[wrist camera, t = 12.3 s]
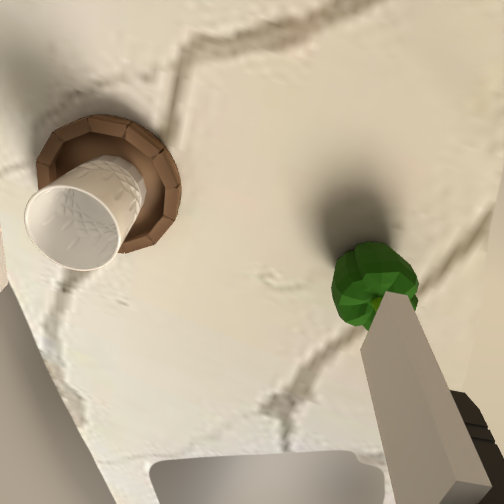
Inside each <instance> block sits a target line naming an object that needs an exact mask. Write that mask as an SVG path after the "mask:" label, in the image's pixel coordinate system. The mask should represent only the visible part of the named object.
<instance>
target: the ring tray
mask: <svg viewBox="0 0 504 504" xmlns="http://www.w3.org/2000/svg"><path fill="white" fill-rule="evenodd" d="M102 155H111V156H119V157H121V158H123V159H125V160H126V161H128V162H130V163H131V164H133V165H134V166H135V167H136V169H137V170H138V171H139V172H140V174H141V175H142V176H143V179H144V183H145V187H146V191H147V192H146V196H145V200H144V204H143V206H142V208H141V209H140V211H139V214H138V216H137V218H136V220H135V222H134V224H133V226H132V228H131V230H130V231H129V233H128V235H127V236H126V238H125V240H124V242H123V243H122V245H121V247H120V249H119V251H118V252H117V253H123V254H124V252H125V254H126V253H129V252H132V251H135V250H139V249H142V248H145V247H148V246H152V245H154V244H156V243H157V241H158V240H159V239H160V238H161V237H162V235H163V234H164V233H165V232H166V231H167V229H168V228H169V227H170V226H171V225H172V224H173V222H174V221H175V219H176V217H177V215H178V208H179V205H180V200H181V180H180V176H179V172H178V169H177V166H176V164H175V162H174V160H173V158H172V156H171V154H170V153H169V151H168V150H167V148H166V147H165V146H164V145H163V144H162V142H161V141H160V140H159V139H158V138H157V137H156V136H154V135H153V134H152V133H151V132H150V131H148V130H147V129H145V128H144V127H142V126H141V125H139V124H137V123H135V122H133V121H130V120H128V119H125V118H122V117H118V116H112V115H90V116H87V117H84V118H80V119H78V120H76V121H74V122H72V123H70V124H68V125H65V126H63V127H61V128H59V129H57V130H55V131H54V132H52V134H51V136H50V137H49V139H48V141H47V142H46V144H45V146H44V148H43V149H42V151H41V153H40V155H39V156H38V158H37V162H36V167H37V178H38V189H39V190H40V189H42V188H44V187H45V186H47V185H48V184H50V183H52V182H53V181H55V180H56V179H58V178H59V177H61V176H63V175H64V174H66V173H67V172H69V171H71V170H73V169H74V168H76V167H78V166H80V165H82V164H84V163H86V162H88V161H89V160H91V159H93V158H96V157H99V156H102Z"/></svg>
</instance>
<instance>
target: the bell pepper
mask: <svg viewBox="0 0 504 504" xmlns="http://www.w3.org/2000/svg"><path fill="white" fill-rule="evenodd" d="M418 285H419V283H418V279H417V276H416V274H415V272H414V270H413V268H412V267H411V265H410V264H409V263H408V262H406V261H405V260H404V259H403V258H402V257H401V256H400V255H398V254H397V253H396V252H395V251H394V250H392V249H391V248H390V247H389V246H387V245H386V244H384V243H378V242H365V243H361V244H357V246H356V248H355V251H348V252H346V253H345V254H344V255H343V256H341V257H340V258H339V259H338V260H337V263H336V266H335V271H334V276H333V282H332V287H331V289H332V296H333V300H334V303H335V306H336V308H337V311H338V314H339V316H340V318H341V319H342V320H344V321H345V322H346V323H349V324H351V325H354V326H359V325H363V326H364V327H365V328H366V330H368V331H369V329H370V326H371V324H372V322H373V320H374V317H375V315H376V313H377V310H378V308H379V306H380V304H381V301H382V299H383V297H384V294H385V292H386V291H388V292H393V293H398V294H403V295H408V298H409V300H410V302H411V304H412V307H413V309H414V311H415V310H416V307H417V303H418V299H417V297H416V295H415V293H416V292H417V289H418Z"/></svg>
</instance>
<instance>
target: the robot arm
mask: <svg viewBox="0 0 504 504" xmlns="http://www.w3.org/2000/svg"><path fill="white" fill-rule="evenodd" d="M7 284H8V278H7V271H6V263H5V256H4V248H3V241H2V233H1V226H0V291H1V290H2V289H3V288H4V287H5V286H6V285H7ZM360 351H361V355H362V359H363V364H364V368H365V372H366V376H367V381H368V385H369V389H370V394H371V398H372V402H373V406H374V411H375V415H376V419H377V424H378V428H379V432H380V436H381V441H382V445H383V449H384V454H385V458H386V462H387V466H388V471H389V475H390V479H391V484H392V488H393V492H394V497H395V501H396V504H504V458H503V456H502V454H501V452H500V450H499V448H498V446H497V445H496V444H495V440H494V438H493V436H492V434H491V432H490V430H488V426H487V424H486V422H485V420H484V418H483V416H482V414H481V412H480V410H479V408H478V407H477V406H476V405H475V404H474V403H473V402H472V401H471V399H470V398H469V397H468V396H467V395H466V394H465V393H463V392H457V391H452V390H449V388H448V385H447V383H446V381H445V379H444V376H443V374H442V372H441V370H440V367H439V365H438V363H437V361H436V358H435V356H434V354H433V352H432V349H431V347H430V345H429V343H428V340H427V338H426V336H425V334H424V331H423V329H422V327H421V325H420V322H419V320H418V318H417V316H416V313H415V311H414V309H413V307H412V304H411V302H410V300H409V298H408V295H403V294H398V293H393V292H388V291H386V292H385V294H384V297H383V299H382V301H381V304H380V306H379V308H378V310H377V313H376V315H375V317H374V320H373V322H372V324H371V326H370V329H369V331H368V333H367V336H366V338H365V340H364V342H363V345H362V347H361V349H360Z"/></svg>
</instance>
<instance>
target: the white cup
mask: <svg viewBox="0 0 504 504" xmlns="http://www.w3.org/2000/svg"><path fill="white" fill-rule="evenodd" d="M146 192H147V191H146V187H145V183H144V179H143V176H142V175H141V174H140V172H139V171H138V170H137V169H136V167H135V166H134V165H133V164H131V163H130V162H128V161H126V160H125V159H123V158H121V157H119V156H111V155H102V156H99V157H96V158H93V159H91V160H89V161H88V162H86V163H84V164H82V165H80V166H78V167H76V168H74V169H73V170H71V171H69V172H67V173H66V174H64V175H63V176H61V177H59V178H58V179H56V180H55V181H53V182H52V183H50V184H48V185H47V186H45V187H44V188H42V189H40V190H39V191H37V192H36V193H35V194H34V195H33V196H32V197H31V198H30V199H29V201H28V203H27V205H26V208H25V213H24V221H25V227H26V230H27V233H28V235H29V237H30V239H31V241H32V242H33V244H34V245H35V247H36V248H37V249H38V250H39V251H40V252H41V253H42V254H43V255H44V256H45V257H47V258H48V259H50V260H51V261H53V262H54V263H56V264H58V265H60V266H63V267H65V268H69V269H73V270H79V271H89V270H95V269H98V268H101V267H103V266H105V265H107V264H108V263H109V262H110V261H112V260H113V258H114V257H115V256H116V254H117V252H118V251H119V249H120V247H121V245H122V243H123V242H124V240H125V238H126V236H127V235H128V233H129V231H130V230H131V228H132V226H133V224H134V222H135V220H136V218H137V216H138V214H139V211H140V209H141V208H142V206H143V204H144V200H145V196H146Z"/></svg>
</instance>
